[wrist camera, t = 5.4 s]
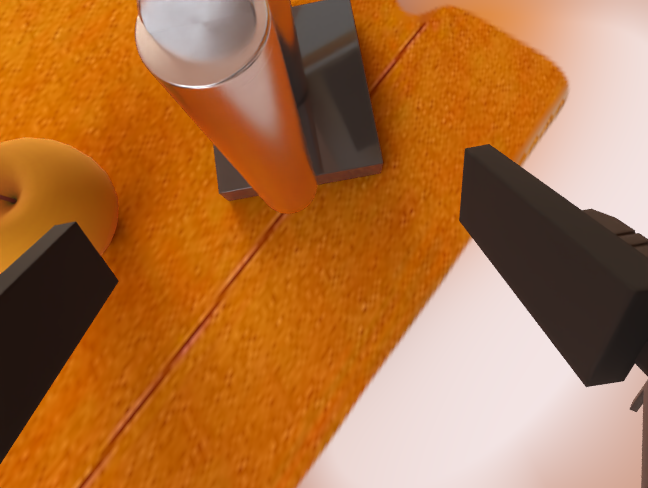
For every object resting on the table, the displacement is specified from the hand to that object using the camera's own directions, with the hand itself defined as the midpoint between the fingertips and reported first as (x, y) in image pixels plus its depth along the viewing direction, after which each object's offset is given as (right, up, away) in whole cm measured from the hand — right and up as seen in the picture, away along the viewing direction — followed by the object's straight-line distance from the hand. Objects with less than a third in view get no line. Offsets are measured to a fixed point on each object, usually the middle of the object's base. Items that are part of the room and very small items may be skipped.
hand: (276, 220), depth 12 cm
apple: (-16, 0, +15) cm, 22 cm away
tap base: (-1, +10, +15) cm, 19 cm away
